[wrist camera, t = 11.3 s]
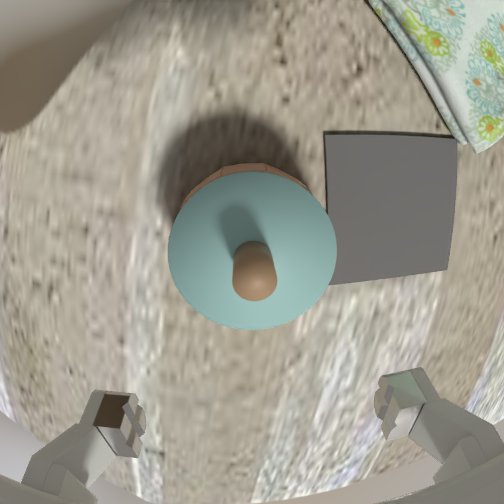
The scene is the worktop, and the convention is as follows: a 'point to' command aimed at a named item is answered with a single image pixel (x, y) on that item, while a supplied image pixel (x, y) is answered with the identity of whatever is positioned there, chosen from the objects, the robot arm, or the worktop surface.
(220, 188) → the lid
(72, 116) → the worktop surface
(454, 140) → the mat
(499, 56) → the towel
